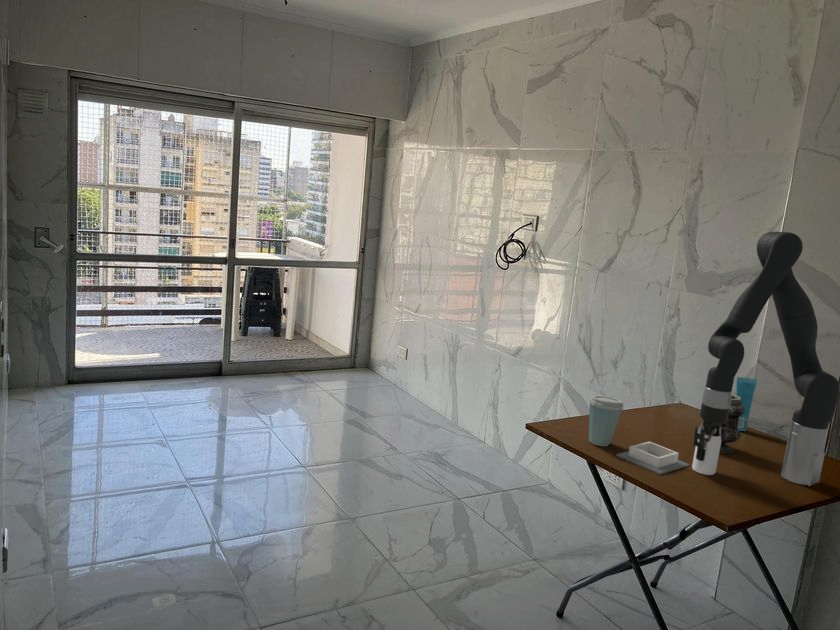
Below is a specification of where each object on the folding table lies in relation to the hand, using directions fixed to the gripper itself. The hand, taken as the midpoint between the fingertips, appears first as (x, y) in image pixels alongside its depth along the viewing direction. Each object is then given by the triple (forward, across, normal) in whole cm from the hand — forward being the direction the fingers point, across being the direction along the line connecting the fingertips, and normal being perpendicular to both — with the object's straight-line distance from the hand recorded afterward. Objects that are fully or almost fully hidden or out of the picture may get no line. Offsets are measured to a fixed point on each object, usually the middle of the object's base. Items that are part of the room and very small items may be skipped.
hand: (706, 457), depth 200 cm
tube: (+5, +51, +16) cm, 54 cm away
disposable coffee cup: (+4, -11, +29) cm, 31 cm away
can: (+4, 0, 0) cm, 4 cm away
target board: (+4, -8, +12) cm, 15 cm away
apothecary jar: (+4, +24, +9) cm, 26 cm away
